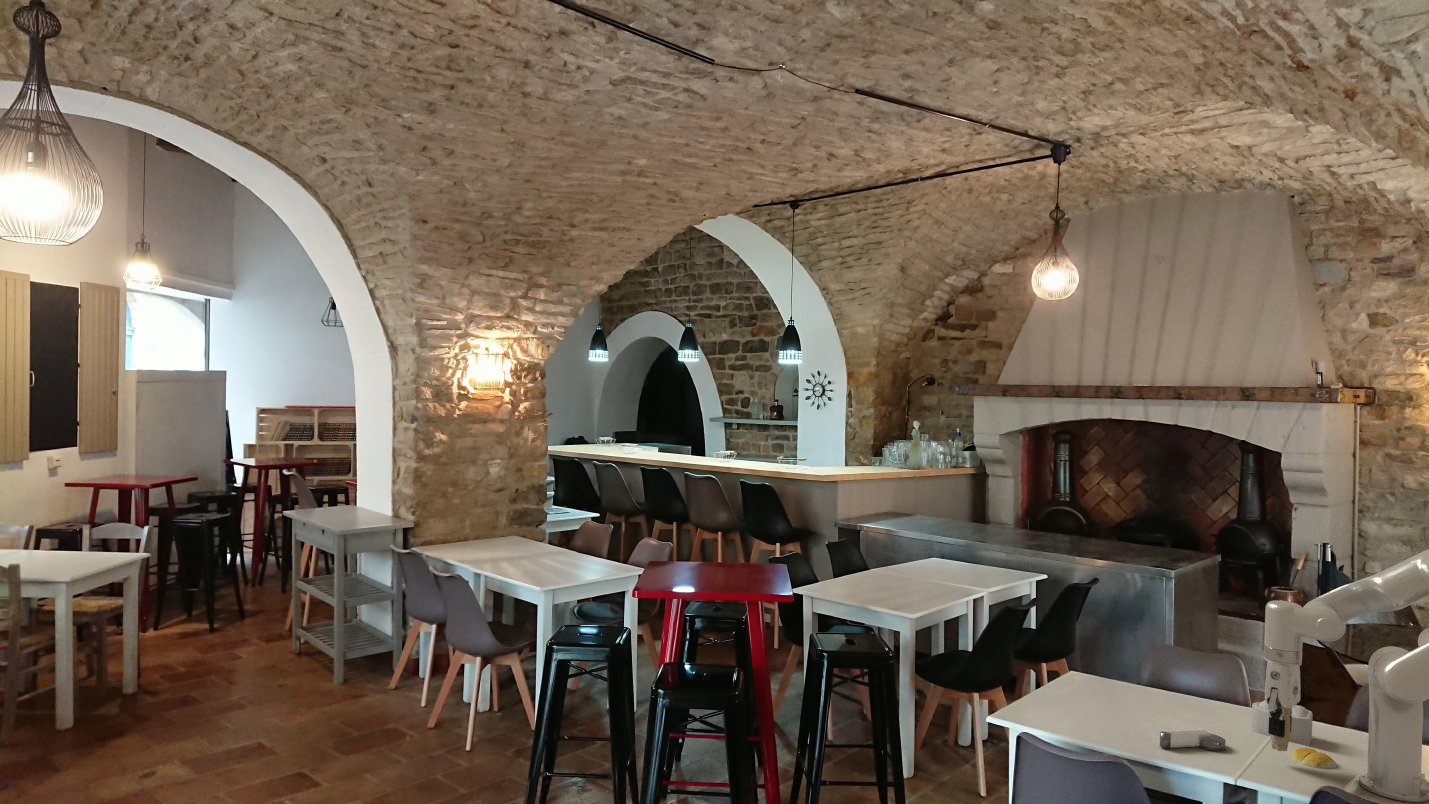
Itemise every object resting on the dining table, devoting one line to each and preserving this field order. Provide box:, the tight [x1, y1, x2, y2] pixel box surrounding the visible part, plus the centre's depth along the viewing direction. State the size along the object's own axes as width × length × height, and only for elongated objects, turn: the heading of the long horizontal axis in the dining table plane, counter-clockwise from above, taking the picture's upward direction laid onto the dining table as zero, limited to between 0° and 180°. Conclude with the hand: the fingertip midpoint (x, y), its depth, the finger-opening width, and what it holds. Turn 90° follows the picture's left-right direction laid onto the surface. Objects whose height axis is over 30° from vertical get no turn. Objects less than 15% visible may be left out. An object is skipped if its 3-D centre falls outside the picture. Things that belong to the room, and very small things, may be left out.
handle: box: [1270, 687, 1298, 752], centre depth 209 cm, size 5×6×15 cm
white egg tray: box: [1251, 699, 1314, 748], centre depth 231 cm, size 10×13×9 cm
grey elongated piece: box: [1159, 730, 1226, 753], centre depth 219 cm, size 17×7×4 cm, turn 100°
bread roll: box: [1290, 747, 1337, 769], centre depth 212 cm, size 8×9×4 cm
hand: (1279, 732), depth 209 cm, fingers closed on handle, 3 cm apart
